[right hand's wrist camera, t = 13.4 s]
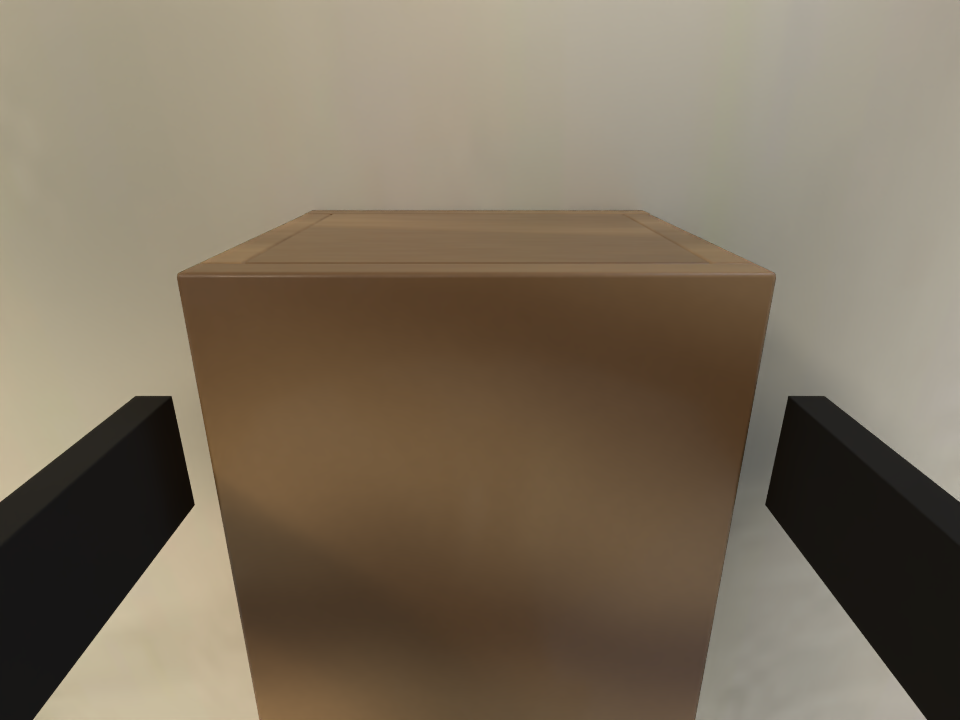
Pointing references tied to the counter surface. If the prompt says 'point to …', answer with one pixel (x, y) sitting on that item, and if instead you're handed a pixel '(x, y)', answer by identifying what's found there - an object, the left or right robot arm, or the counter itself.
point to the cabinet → (476, 457)
